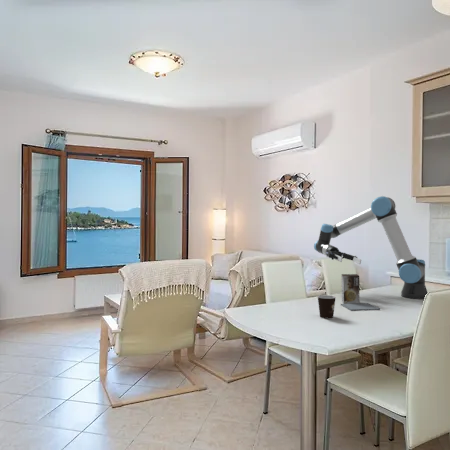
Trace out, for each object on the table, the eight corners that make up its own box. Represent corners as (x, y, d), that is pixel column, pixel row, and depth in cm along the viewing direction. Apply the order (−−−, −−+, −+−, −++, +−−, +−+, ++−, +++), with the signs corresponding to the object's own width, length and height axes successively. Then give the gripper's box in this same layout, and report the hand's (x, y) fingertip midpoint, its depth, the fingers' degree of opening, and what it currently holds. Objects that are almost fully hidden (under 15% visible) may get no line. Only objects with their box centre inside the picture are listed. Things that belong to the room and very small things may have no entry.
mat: (367, 304, 238) (367, 303, 238) (379, 309, 224) (379, 308, 224) (340, 304, 237) (340, 303, 237) (351, 310, 222) (350, 309, 222)
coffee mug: (325, 319, 203) (325, 299, 203) (314, 316, 211) (314, 296, 211) (343, 317, 208) (343, 296, 208) (331, 313, 216) (331, 294, 216)
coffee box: (357, 301, 246) (357, 274, 245) (359, 303, 239) (359, 275, 239) (341, 301, 247) (341, 273, 246) (343, 303, 240) (343, 275, 240)
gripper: (345, 259, 273) (366, 268, 253) (312, 255, 264) (332, 265, 244) (348, 247, 271) (369, 256, 252) (315, 243, 262) (334, 252, 243)
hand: (351, 260), depth 248 cm, fingers open, 13 cm apart
